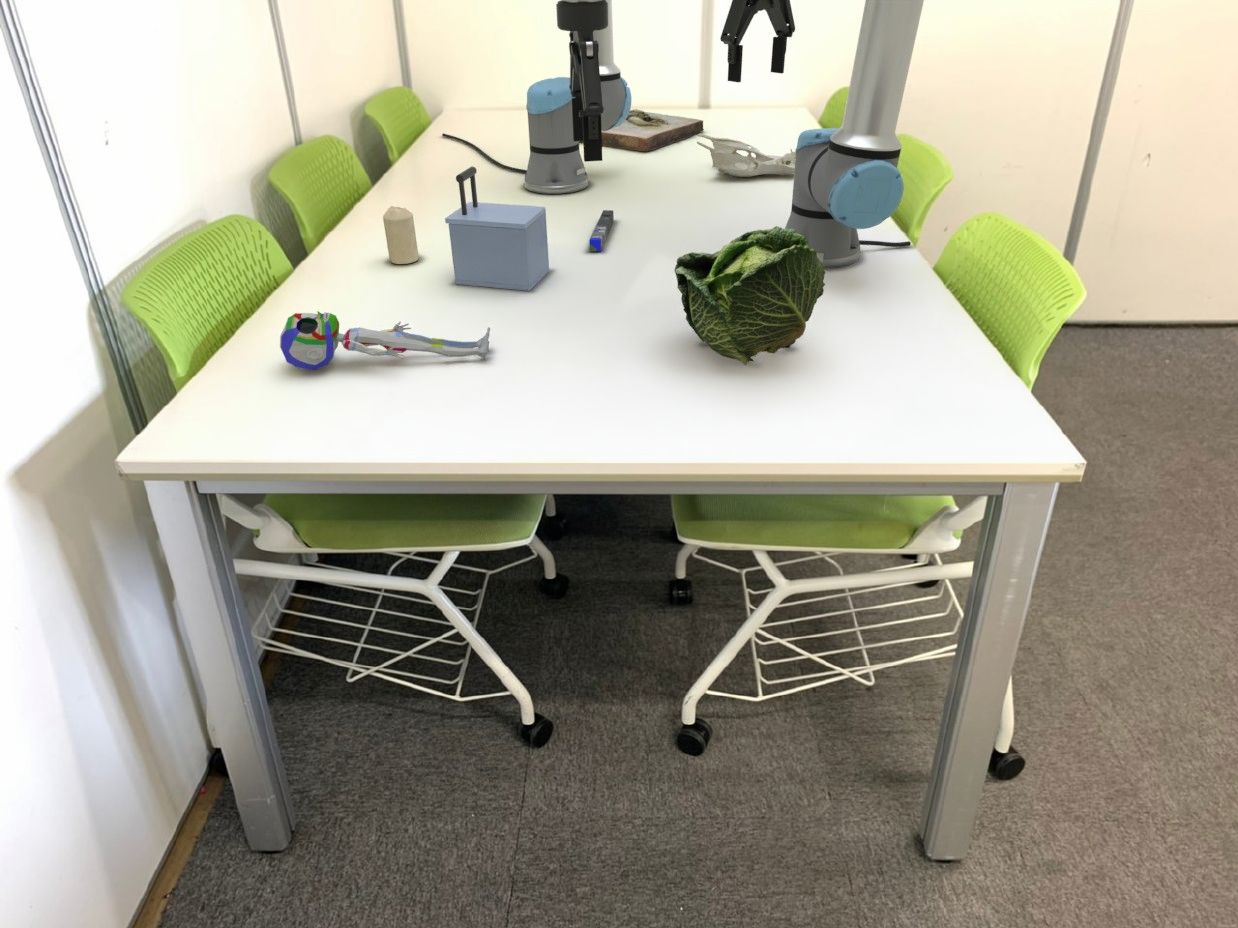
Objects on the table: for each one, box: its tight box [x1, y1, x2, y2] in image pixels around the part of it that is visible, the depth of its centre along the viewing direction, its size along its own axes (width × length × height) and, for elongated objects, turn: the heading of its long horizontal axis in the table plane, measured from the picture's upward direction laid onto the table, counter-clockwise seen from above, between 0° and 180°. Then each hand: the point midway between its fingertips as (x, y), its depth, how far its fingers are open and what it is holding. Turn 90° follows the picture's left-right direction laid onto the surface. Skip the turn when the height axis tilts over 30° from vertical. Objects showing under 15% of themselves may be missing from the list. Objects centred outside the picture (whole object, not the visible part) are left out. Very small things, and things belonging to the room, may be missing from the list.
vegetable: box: [673, 225, 826, 366], centre depth 131 cm, size 20×19×20 cm
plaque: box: [579, 108, 705, 152], centre depth 257 cm, size 30×7×30 cm
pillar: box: [588, 209, 615, 252], centre depth 182 cm, size 2×2×20 cm
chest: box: [448, 212, 550, 292], centre depth 161 cm, size 14×10×11 cm
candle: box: [382, 205, 420, 265], centre depth 169 cm, size 6×6×10 cm
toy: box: [279, 311, 491, 371], centre depth 133 cm, size 10×8×30 cm
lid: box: [444, 166, 547, 229], centre depth 156 cm, size 15×10×8 cm
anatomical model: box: [696, 133, 796, 178], centre depth 219 cm, size 15×9×25 cm
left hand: (756, 77), depth 178 cm, fingers open, 13 cm apart
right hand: (587, 150), depth 141 cm, fingers open, 13 cm apart
